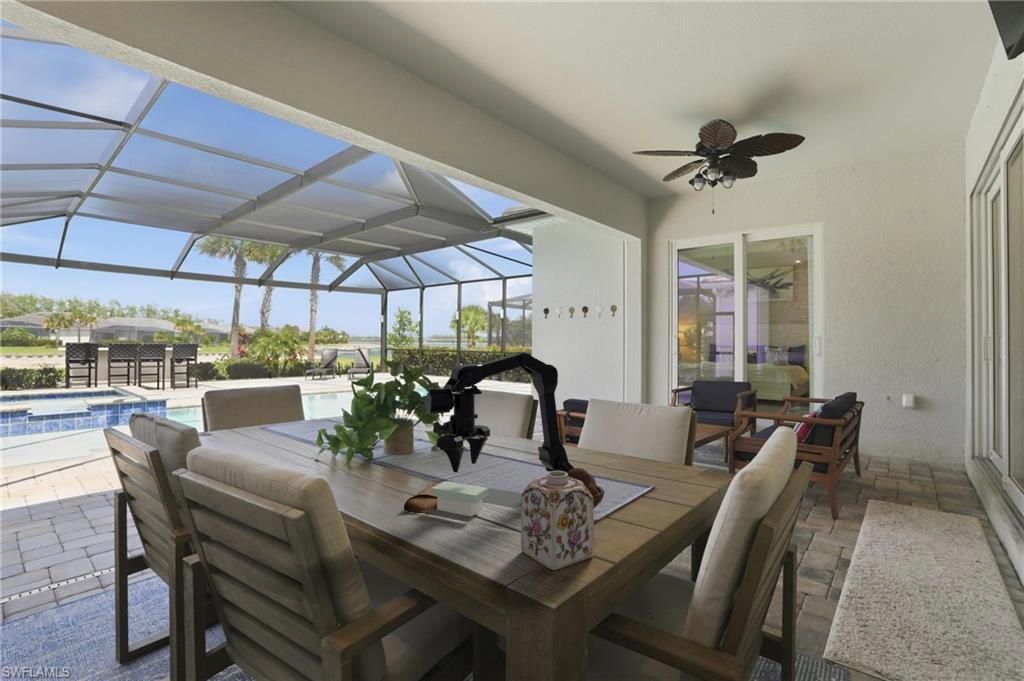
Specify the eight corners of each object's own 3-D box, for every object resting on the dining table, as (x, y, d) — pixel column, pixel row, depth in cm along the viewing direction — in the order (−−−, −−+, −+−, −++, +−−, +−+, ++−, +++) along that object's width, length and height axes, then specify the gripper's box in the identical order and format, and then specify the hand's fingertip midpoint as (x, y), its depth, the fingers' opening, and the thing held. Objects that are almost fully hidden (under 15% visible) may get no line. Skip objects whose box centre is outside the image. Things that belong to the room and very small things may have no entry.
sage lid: (488, 495, 133) (488, 488, 133) (475, 503, 127) (475, 495, 127) (445, 488, 139) (445, 481, 139) (431, 495, 133) (431, 487, 133)
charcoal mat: (533, 497, 145) (533, 495, 145) (515, 510, 134) (515, 507, 134) (481, 488, 153) (481, 486, 153) (460, 500, 142) (460, 497, 142)
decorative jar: (595, 557, 106) (595, 475, 106) (554, 573, 99) (554, 484, 99) (558, 538, 116) (559, 463, 115) (519, 551, 109) (519, 471, 109)
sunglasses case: (431, 515, 130) (420, 492, 131) (411, 526, 132) (400, 503, 133) (457, 494, 148) (447, 474, 148) (439, 504, 149) (429, 484, 150)
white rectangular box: (482, 511, 133) (482, 495, 133) (471, 518, 128) (471, 501, 128) (448, 505, 138) (448, 489, 138) (437, 511, 133) (437, 495, 133)
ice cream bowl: (604, 537, 116) (604, 474, 116) (557, 533, 118) (557, 472, 118) (604, 520, 127) (604, 463, 126) (561, 517, 129) (561, 460, 129)
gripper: (458, 404, 146) (458, 456, 146) (419, 414, 129) (420, 473, 129) (490, 407, 141) (491, 460, 141) (454, 417, 124) (455, 478, 124)
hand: (464, 467), depth 134 cm, fingers open, 9 cm apart
